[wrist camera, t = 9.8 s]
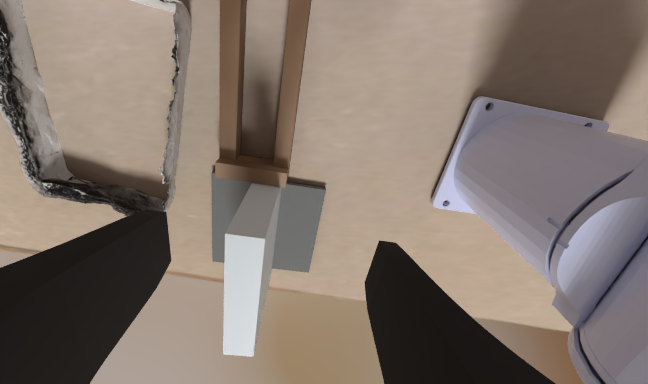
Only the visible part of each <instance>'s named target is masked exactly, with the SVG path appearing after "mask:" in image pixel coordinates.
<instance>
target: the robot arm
mask: <svg viewBox="0 0 648 384" xmlns="http://www.w3.org/2000/svg"><path fill="white" fill-rule="evenodd" d="M488 103H490V107H489V109H487V110H486V109H485V108H486V105H487V104H488ZM586 124H587V125H586ZM585 125H586V126H585ZM608 128H609V124H608V122H606V121H601V120H596V119H591V118H586V117H582V116H577V115H572V114H567V113H562V112H557V111H552V110H547V109H542V108H538V107H533V106H528V105H523V104H518V103H513V102H508V101H503V100H499V99H494V98H489V97H484V96H479V97H477V98H476V99H474V101H473V102H472V104H471V107H470V109H469V111H468V114H467V116H466V118H465V121H464V123H463V126H462V128H461V130H460V133H459V135H458V138H457V140H456V142H455V145H454V147H453V149H452V152H451V154H450V157H449V159H448V161H447V164H446V166H445V169H444V171H443V173H442V176H441V178H440V180H439V183H438V185H437V188H436V190H435V192H434V195H433V197H432V200H431V203H432V205H433V206H434V207H436V208H440V209H447V210H454V211H460V212H467V213H473V214H477V215H478V216H479V217H480V218H482V219H483V220H484V221H485V222H486V223H487V224H488V225H489V226H490V227H491V228H492V229H493V230H494V231H495V232H496V233H497V234H498V235H499V236H501V237H502V238H503V239H504V240H505V241H506V242H507V243H508V244H509V245H510V246H511V247H512V248H513V249H514V250H515V251H516V252H517V253H518V254H520V255H521V256H522V257H523V258H524V259H525V260H526V261H527V262H528V263H529V264H530V265H531V266H532V267H533V268H534V269H535V270H536V271H537V272H539V273H540V274H541V275H542V276H543V277H544V278H545V279H546V280H547V281H548V282H549V283H550V284H551V285H552V286H553V287H555V290H556V295H555V299H554V300H553V302H552V305H553V306H554V307H555V308H556V309H557V310H558V311H559V312H560V313H561V314H562V315H563V316H564V318H565V319H566V320H567V321H568V322H569V323H570V324H571V325H572V326H573V328H572V330H571V332H570V333H569V337H568V349H569V355H570V357H571V360H572V362H573V364H574V367H575V369H576V371H577V373H578V374H579V376H580V378H581V380H582V381H583V382H584V384H648V141H645V140H641V139H636V138H632V137H628V136H624V135H620V134H616V133H611V132H607V130H608ZM446 200H447V202H446V203H445V204H443V202H444V201H446ZM170 262H171V253H170V244H169V234H168V225H167V215H166V212H163V211H156V210H148V209H146V210H143V211H140V212H137V213H135V214H132V215H130V216H127V217H125V218H122V219H120V220H118V221H115V222H113V223H111V224H108V225H106V226H104V227H101V228H99V229H96V230H94V231H92V232H89V233H87V234H85V235H82V236H80V237H78V238H75V239H73V240H70V241H68V242H66V243H63V244H61V245H58V246H56V247H53V248H50V249H48V250H45V251H43V252H40V253H38V254H35V255H33V256H30V257H27V258H25V259H23V260H20V261H17V262H15V263H12V264H9V265H7V266H4V267H1V268H0V384H90V382H91V380H92V379H93V377H94V376H95V374H96V373H97V371H98V370H99V368H100V367H101V365H102V364H103V362H104V361H105V359H106V358H107V357H108V355H109V354H110V352H111V351H112V350H113V348H114V347H115V345H116V344H117V343H118V341H119V340H120V338H121V337H122V336H123V334H124V333H125V331H126V330H127V329H128V327H129V326H130V324H131V323H132V322H133V320H134V319H135V318H136V316H137V315H138V313H139V312H140V311H141V309H142V308H143V306H144V305H145V304H146V302H147V301H148V299H149V298H150V297H151V295H152V293H153V292H154V291H155V289H156V288H157V286H158V284H159V282H160V281H161V279H162V277H163V275H164V273H165V271H166V269H167V268H168V266H169V264H170ZM365 291H366V301H367V309H368V314H369V319H370V323H371V328H372V332H373V337H374V341H375V345H376V349H377V354H378V357H379V362H380V366H381V370H382V375H383V379H384V384H555V383H554V382H552V381H551V380H550V379H548V378H547V377H546V376H544V375H543V374H542V373H540V372H539V371H537V370H536V369H535V368H533V367H532V366H531V365H529V364H528V363H527V362H525V361H524V360H523V359H521V358H520V357H519V356H517V355H516V354H515V353H514V352H512V351H511V350H510V349H508V348H507V347H506V346H505V345H504V344H503V343H501V342H500V341H499V340H498V339H496V338H495V337H494V336H493V335H492V334H490V333H489V332H488V331H487V330H485V329H484V328H483V327H482V326H481V325H480V324H478V323H477V322H476V321H475V320H474V319H473V318H472V317H471V316H470V315H468V314H467V313H466V312H465V311H464V310H463V309H462V308H461V307H460V306H459V305H458V304H457V303H455V302H454V301H453V300H452V299H451V298H450V297H449V296H448V295H447V294H446V293H445V292H444V291H443V290H442V289H441V288H440V287H439V286H438V285H437V284H436V283H435V282H434V281H433V280H432V279H431V278H430V277H429V276H428V275H427V274H426V273H425V272H424V271H423V270H422V269H421V268H420V267H419V266H418V265H417V264H416V263H415V262H414V260H413V259H412V258H411V257H410V256H409V255H408V254H407V253H406V252H405V251H404V250H403V249H402V248H401V247H400V246H399V245H398V244H397V243H393V242H386V241H379V243H378V246H377V249H376V252H375V254H374V257H373V260H372V263H371V266H370V269H369V272H368V275H367V278H366V281H365Z"/></svg>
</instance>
